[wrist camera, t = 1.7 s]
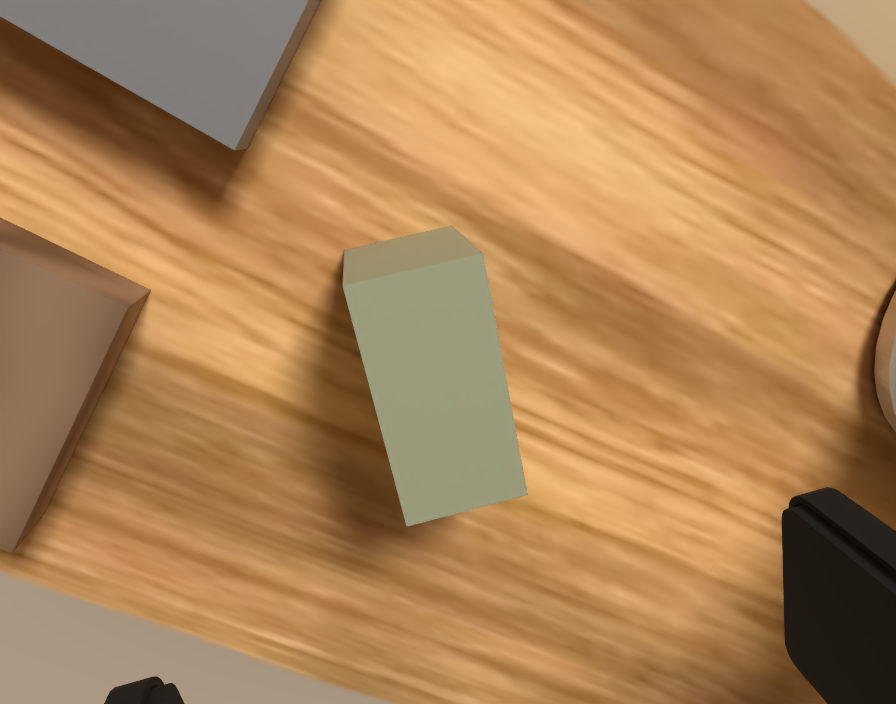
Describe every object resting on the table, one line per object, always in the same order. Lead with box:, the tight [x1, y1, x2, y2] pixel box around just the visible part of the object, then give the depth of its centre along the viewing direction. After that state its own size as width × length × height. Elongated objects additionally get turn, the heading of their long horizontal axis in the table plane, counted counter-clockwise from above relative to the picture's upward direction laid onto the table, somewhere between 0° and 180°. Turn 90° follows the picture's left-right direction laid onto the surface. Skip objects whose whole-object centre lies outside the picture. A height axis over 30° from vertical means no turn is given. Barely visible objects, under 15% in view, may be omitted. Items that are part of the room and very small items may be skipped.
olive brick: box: [343, 226, 528, 526], centre depth 22 cm, size 4×8×6 cm, turn 11°
